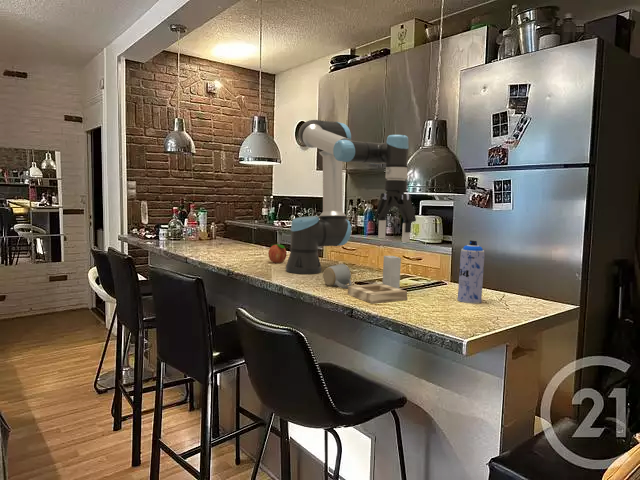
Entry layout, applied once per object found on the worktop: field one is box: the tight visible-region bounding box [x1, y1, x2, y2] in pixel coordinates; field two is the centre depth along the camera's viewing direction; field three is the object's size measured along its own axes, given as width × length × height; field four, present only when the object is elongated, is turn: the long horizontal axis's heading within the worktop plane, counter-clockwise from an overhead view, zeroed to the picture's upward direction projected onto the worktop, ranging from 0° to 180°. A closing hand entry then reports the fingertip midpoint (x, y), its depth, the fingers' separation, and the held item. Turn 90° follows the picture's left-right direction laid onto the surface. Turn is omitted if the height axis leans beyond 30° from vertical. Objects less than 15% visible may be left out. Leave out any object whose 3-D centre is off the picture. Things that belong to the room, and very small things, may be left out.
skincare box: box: [382, 255, 402, 289], centre depth 169 cm, size 6×4×12 cm
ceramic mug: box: [322, 263, 352, 289], centre depth 173 cm, size 11×8×8 cm
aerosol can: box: [456, 240, 485, 305], centre depth 155 cm, size 8×8×20 cm
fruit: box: [268, 241, 288, 264], centre depth 224 cm, size 9×10×10 cm
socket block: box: [347, 282, 408, 304], centre depth 157 cm, size 14×14×3 cm
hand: (393, 240), depth 168 cm, fingers open, 13 cm apart
